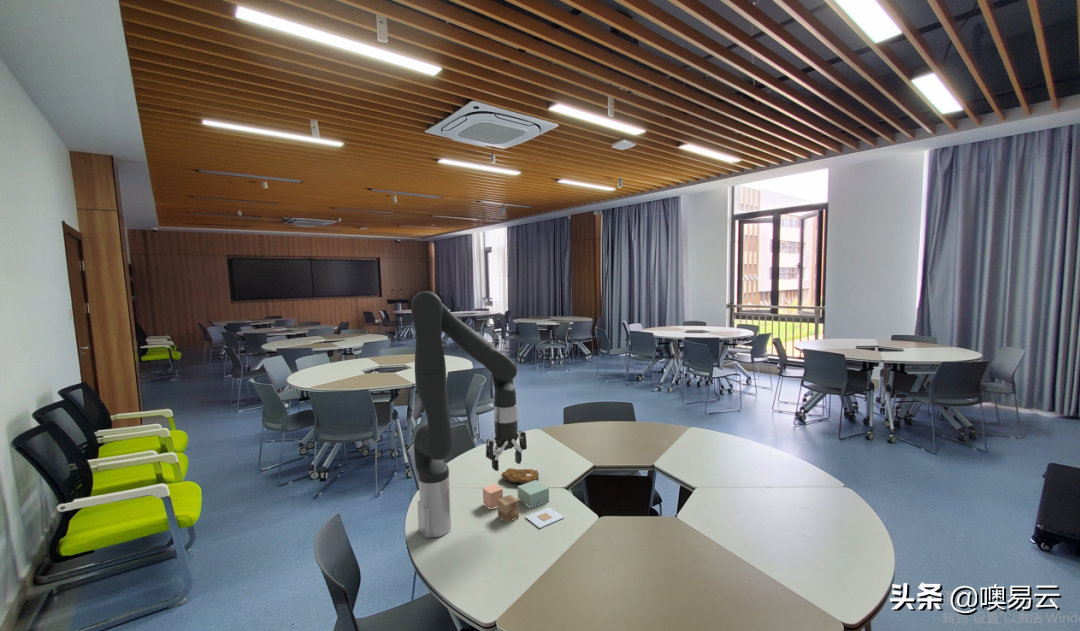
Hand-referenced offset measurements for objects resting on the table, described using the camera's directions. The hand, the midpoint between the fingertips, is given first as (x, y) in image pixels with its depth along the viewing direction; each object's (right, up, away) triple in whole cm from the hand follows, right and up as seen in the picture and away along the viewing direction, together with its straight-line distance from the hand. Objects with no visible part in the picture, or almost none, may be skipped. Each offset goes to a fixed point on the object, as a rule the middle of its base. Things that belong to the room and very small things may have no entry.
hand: (507, 466), depth 143 cm
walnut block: (0, -17, +1) cm, 17 cm away
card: (+12, -17, 0) cm, 21 cm away
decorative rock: (+3, -16, +28) cm, 32 cm away
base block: (+8, -16, +12) cm, 22 cm away
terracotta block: (-6, -17, +9) cm, 20 cm away
